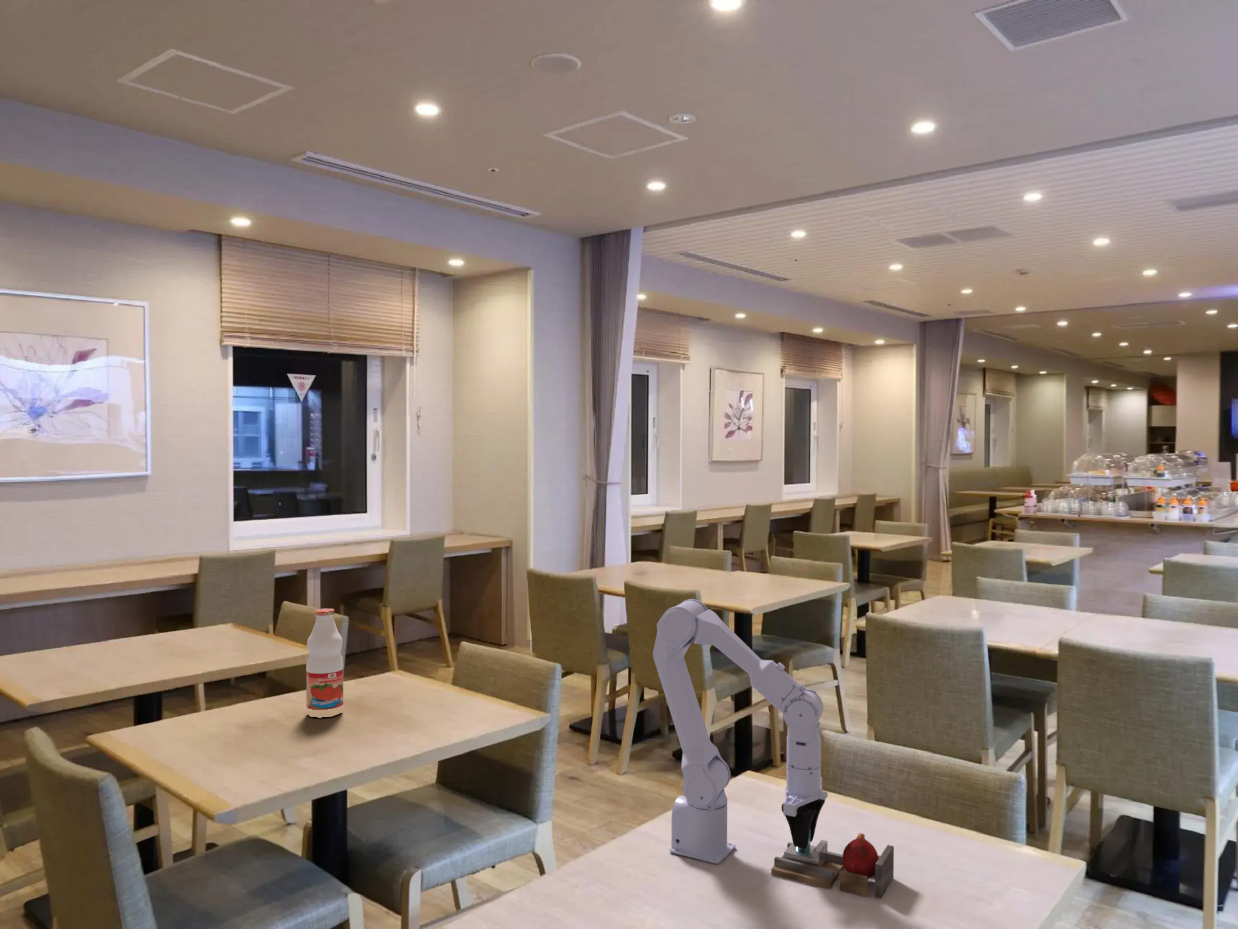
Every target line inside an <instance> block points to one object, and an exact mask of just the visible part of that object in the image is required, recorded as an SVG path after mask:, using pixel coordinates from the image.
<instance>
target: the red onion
mask: <svg viewBox="0 0 1238 929" xmlns="http://www.w3.org/2000/svg"><path fill="white" fill-rule="evenodd" d="M865 836H866V835H865V834H864V833H863V832H859V833H858V834H857V837H856V838H855V839H852V840H851V841H849V843H847V845H845V847H844V849H843V852H842V855H843V865H844V867H845V869H844V871H847V872H851V873H855V874H859V875H863V876H868V880H869V879H871V878H872V877H873V876H875V875H874V874H875V864H876V862H877V861H878V859H879V858H878V856H879V854H878V852H877V849H876V848H875V846H874V845H873V844H872V843H871V842H870V841H869V840H867V839H866V838H865Z"/></svg>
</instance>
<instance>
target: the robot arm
mask: <svg viewBox="0 0 1238 929" xmlns="http://www.w3.org/2000/svg"><path fill="white" fill-rule="evenodd" d="M656 630H657V631H656V636H655V642H654V646H653V651H652V657H653V660H654V664H655V668H656V671H657V674H658V677H659V680H660V683H661V687H662V690H663V693H664V695H665V699H666V703H667V706H668V709H669V712H670V715H671V718H672V722H673V724H674V728H675V731H676V734H677V737H678V741H679V744H680V747H681V750H682V757H681V767H680V768H681V772H682V776H683V782H682V792H683V795H679V796H678V797H677V798H676V799H675V801H674V802H673V803H674V804H673V806H672V811H671V840H670V841H671V842H670V843H671V847H670V848H669V852H670V853H671V854H676V855H679V856H684V857H687V858H692V859H695V860H699V861H703V862H707V863H711V864H715V865H716V864H717V865H718V864H720V863H721V862H722V861H723V860H724V859H725V858H726V857H727V856H728V855H729V854H730V853H731V852H732V851H734V849H735V848H736V844H735V843H731V842H728V797H727V795H726V792H725V788H726V787H728V785H729V783H730V781H731V770H730V768H729V765H728V763H727V762H726V761H725V760H724V759H723V757H722V756H721V755H720V752H719V749H718V747H717V746H716V745H715V744H713V742H712V741H711V739H710V736H709V732H708V729H707V727H706V723H705V720H704V717H703V714H702V710H701V706H700V705H699V701H698V698H697V695H696V692H695V688H694V685H693V683H692V678H691V676H690V673H689V670H688V666H687V663H686V660H685V655H686V653H687V651H688V649H689V648H690V647H691V644H692V643H693V644H694V645H695V644H696V645H705V646H706V645H707V646H709V645H710V646H713V647H714V648H716V649H717V650H719V651H720V652H721V653H722V654H723V655H725V656H726V657H727V658H729V660H731V661H732V662H733V663H735V664H736V665H737V666H738V667H740V668H741V669H742V671H745V673H747V674H748V675H749V676H748V677H749V680H750V686H751V687H752V688H754V690H756V692H758V693H759V694H760V695H761V696H762V697H763V698H764V699H765V700H766V701H768V703H770V704H771V705H772V706H773V707H774V708H775V709H776V710H778V711H779V712H781V713H782V718H783V721H784V723H785V724H786V726H787V736H786V786H785V790H784V792H785V793H784V794H785V796H784V797H785V798H784V799H785V800H784V802H783V803H782V804H781V812H782V813H783V815H784V817H785V819H786V821H787V823H788V827H789V830H790V831H789V832H790V834H791V839H792V843H793V844H794V846H795V847H799V848H804V849H806V848H807V845H808V841H809V833H810V843H812V841H813V840H814V836H815V832H816V828H817V822H818V819H819V815H820V813H821V811H822V808H823V806H824V804H825V803H826V799H827V798H828V797H829V795H828V794H829V793H828V792H827V791H825V790H823V777H822V770H821V769H822V737H821V729H822V728H821V722H820V719H821V717H822V716H823V712H824V702H823V700H822V698H821V697H820V695H819V694H818V693H817V692H816V690H814V689H812V688H807V686H806V685H805V684H804V683H801V684H800V683H799V682H798V681H797V680H796V679H794V677H792V676H791V675H790V674H789V673H787V672H786V670H785V668H786V666H785V665H784V664H783V663H781V662H778V663H776V662H775V661H774V660H772V659H771V660H770V659H761V658H760V657H759V655H757V654H756V653H755V652H754V651H753V649H751V647H750V646H748V645H747V644H746V643H745V642H744V640H742V639H741V638H740V637H739V636H738V635H737V634H736V633H735V632H734V631H733V630H732V629H731V628H730V627H729V626H727V624H725V622H724V621H723V620H722V619H721V618H720V617H719V615H718V614H717V613H716V612H715V611H713V610H712V609H710V608H709V609H708V608H707V606H706V605H705V603H703V602H702V601H700V600H698V599H695V598H689V599H685V600H683V601H682V602H681V603H679V604H677V605H676V606H672V607H670V608H668V609H667V610H666V611H665V612H664V613H663V615H662V616H661V617H660V619H659V620H658V622H657V623H656Z"/></svg>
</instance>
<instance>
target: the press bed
mask: <svg viewBox="0 0 1238 929" xmlns="http://www.w3.org/2000/svg"><path fill="white" fill-rule="evenodd" d="M792 843H793V842H788V843H787V844H786V849H787V848H788V847H789V846H790V845H791V844H792ZM894 847H895V846H893V845H891V844H890V845H889V844H887V846H886V847H885V848H884V850H883V851H882V853H881V854H880V855H878V858H879V859H878V861H877V862H876V864H875V874H874V875H873V876H874V877H875V878H874V898H876V899H880V900H882V899H883V898H884V896H885V894H886V892H887V890H888V889H889V887H890V886H891V884H892V882H893V880H894V876H895V875H894V874H895V873H894V868H895V867H894V863H895V861H894V859H895V857H894V856H895V853H894V851H895V848H894ZM773 860H774V861H773V862H774V863H773V866H772V867H771V868H770V872H771V873H770V874H771V875H772V876H776V877H778V878H784V879H787V880H792V881H795V882H799V883H803V884H807V885H812V886H815V887H820V888H822V889H823V888H824V889H827V890H831V888H832V887H833V886H834V884H835V883H836V881H837V880H839V881H838V882H839V884H838V889H839V890H838V891H840V892H842V893H843V892H844V893H847V894H851V895H857V896H861V897H864V898H867V897H868V895H869V879H868V876H863V875H859V874H855V873H851V872H847V871H846V870H845V867H844V865H843V853H842V854H841V853H837V852H832V851H828V850H827V861H826V862H825V863H824V865H823V866H822V867H818V866H813V865H809V864H805V863H801V862H797V861H793V860H788V859H784V854H783V855H782V856H781V857H780V856H775V857H774V858H773Z"/></svg>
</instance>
